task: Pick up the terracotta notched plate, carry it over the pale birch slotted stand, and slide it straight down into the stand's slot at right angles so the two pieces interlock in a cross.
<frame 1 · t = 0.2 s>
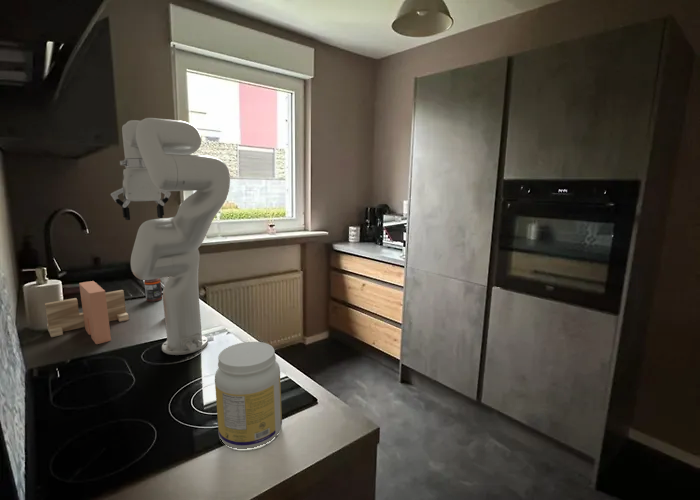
hand: (144, 218, 124), 36 cm above the counter, tool pointing down, fingers open, 9 cm apart
slotted stand: (89, 324, 130), on the counter
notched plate: (97, 334, 122), on the counter
supplement bottle: (154, 300, 157), on the counter
supplement tub: (251, 433, 75), on the counter
medicine box: (178, 316, 139), on the counter
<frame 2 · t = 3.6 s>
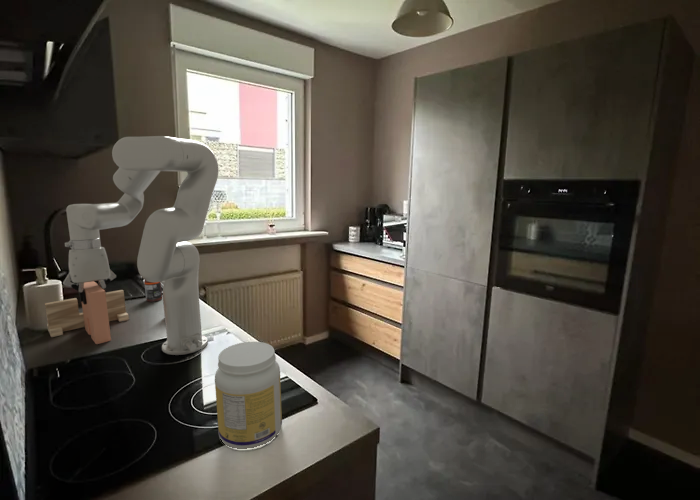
hand: (93, 301, 120), 11 cm above the counter, tool pointing down, fingers closed on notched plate, 4 cm apart
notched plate: (97, 334, 122), on the counter, touching gripper
everything else where it was.
when the fingers open (12 cm above the counter, at t = 11.6 s): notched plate stays where it is, resting in slotted stand.
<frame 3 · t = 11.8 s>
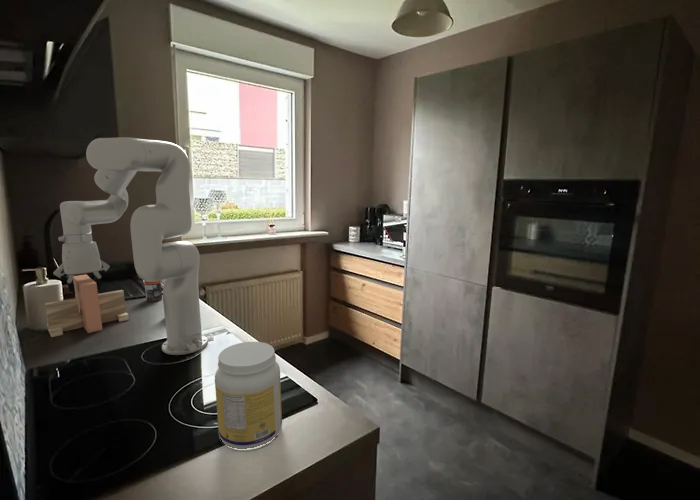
hand: (85, 291, 128), 12 cm above the counter, tool pointing down, fingers open, 6 cm apart
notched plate: (90, 324, 130), resting in slotted stand
everything else where it was.
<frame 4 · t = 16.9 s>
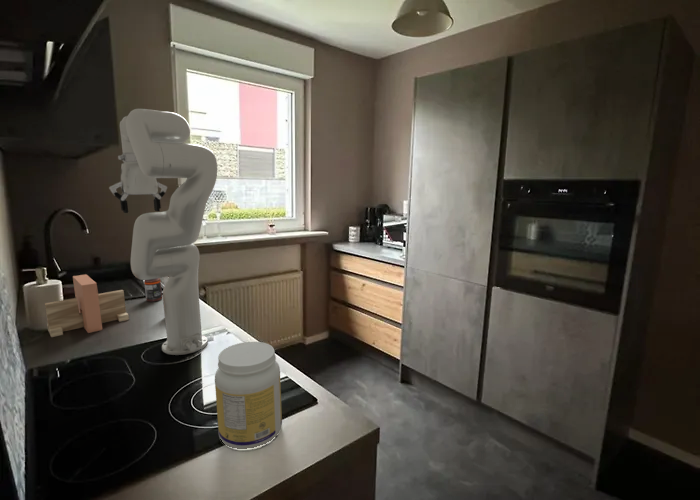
hand: (141, 211, 128), 38 cm above the counter, tool pointing down, fingers open, 9 cm apart
nothing on the counter moved.
at the end: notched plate 0.1 cm off-centre on the slotted stand, point 0.0 cm above the slotted stand's base; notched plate tilted 0°; the gripper is holding nothing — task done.
